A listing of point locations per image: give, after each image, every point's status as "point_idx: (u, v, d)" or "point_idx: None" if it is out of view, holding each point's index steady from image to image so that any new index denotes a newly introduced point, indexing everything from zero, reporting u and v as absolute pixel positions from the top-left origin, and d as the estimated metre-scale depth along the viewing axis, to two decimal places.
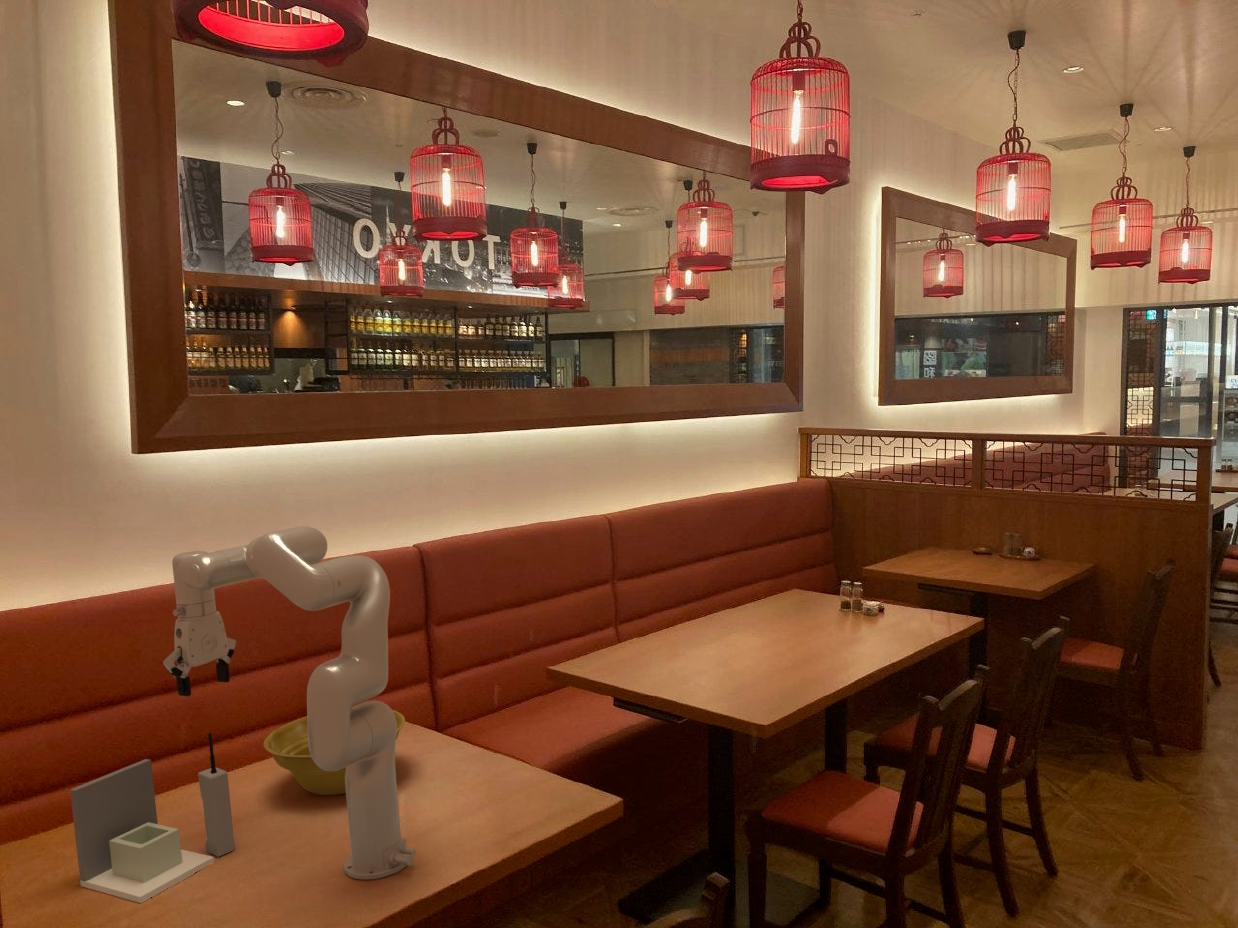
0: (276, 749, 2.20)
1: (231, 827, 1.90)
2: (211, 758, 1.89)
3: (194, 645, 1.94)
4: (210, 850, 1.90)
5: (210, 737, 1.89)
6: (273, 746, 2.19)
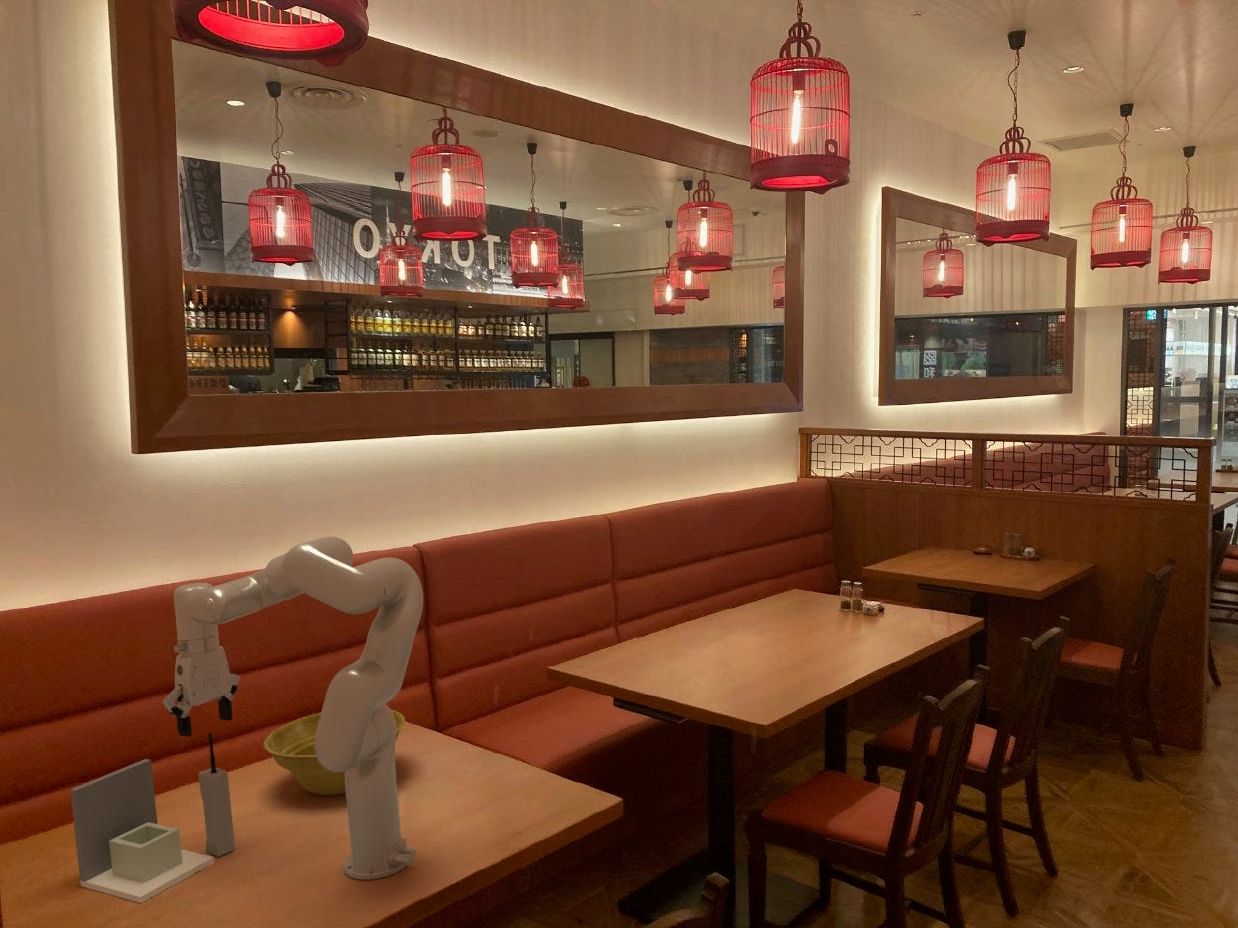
0: (276, 749, 2.20)
1: (231, 827, 1.90)
2: (211, 758, 1.89)
3: (196, 683, 1.84)
4: (210, 850, 1.90)
5: (210, 737, 1.89)
6: (273, 746, 2.20)
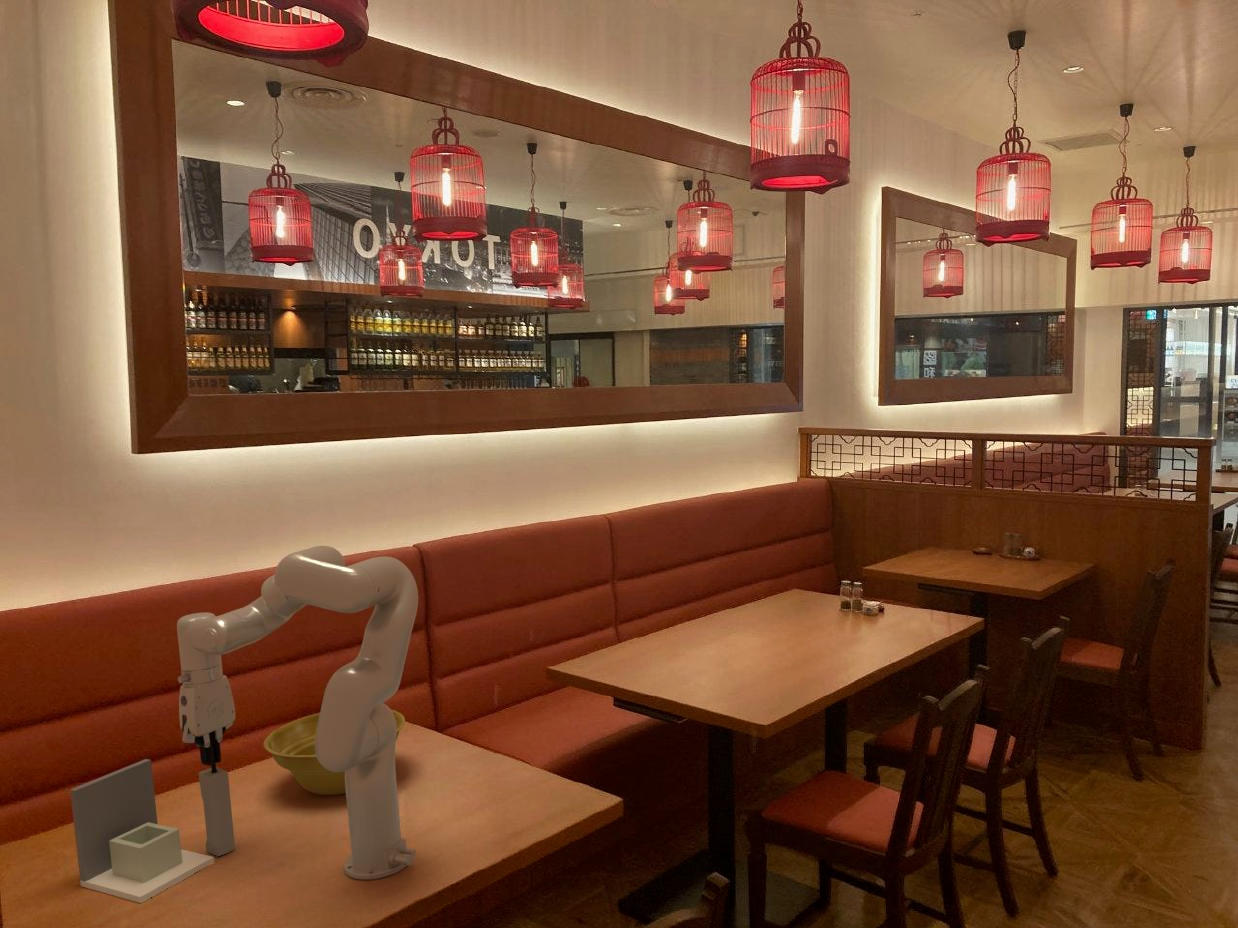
0: (276, 749, 2.20)
1: (231, 827, 1.90)
2: None
3: (200, 714, 1.85)
4: (210, 849, 1.90)
5: (211, 737, 1.89)
6: (273, 746, 2.20)
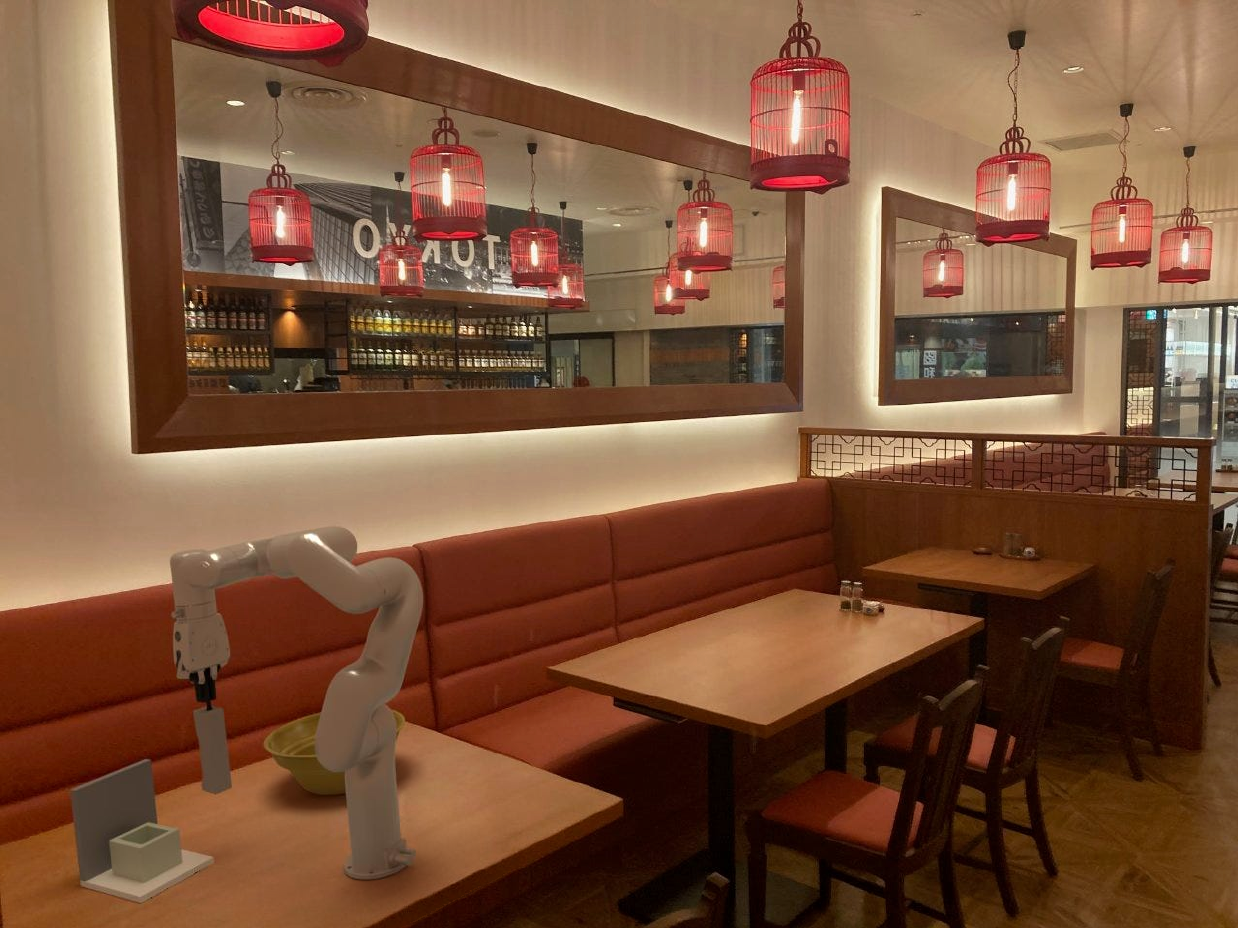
0: (276, 749, 2.20)
1: (228, 764, 1.89)
2: None
3: (194, 649, 1.84)
4: (207, 788, 1.89)
5: (205, 674, 1.88)
6: (273, 746, 2.20)
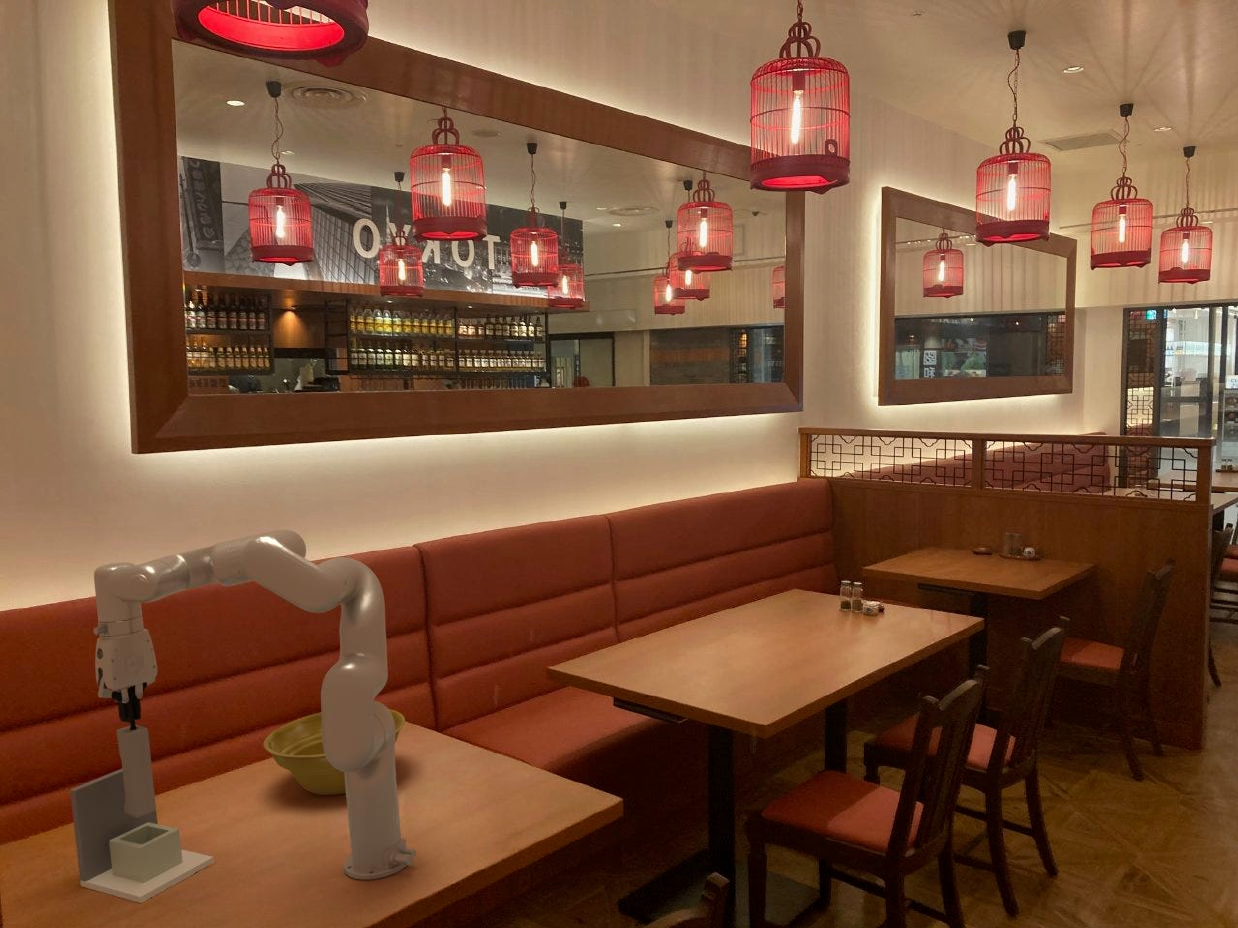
0: (276, 749, 2.20)
1: (151, 787, 1.82)
2: None
3: (117, 667, 1.76)
4: (129, 810, 1.81)
5: (130, 692, 1.80)
6: (273, 746, 2.20)
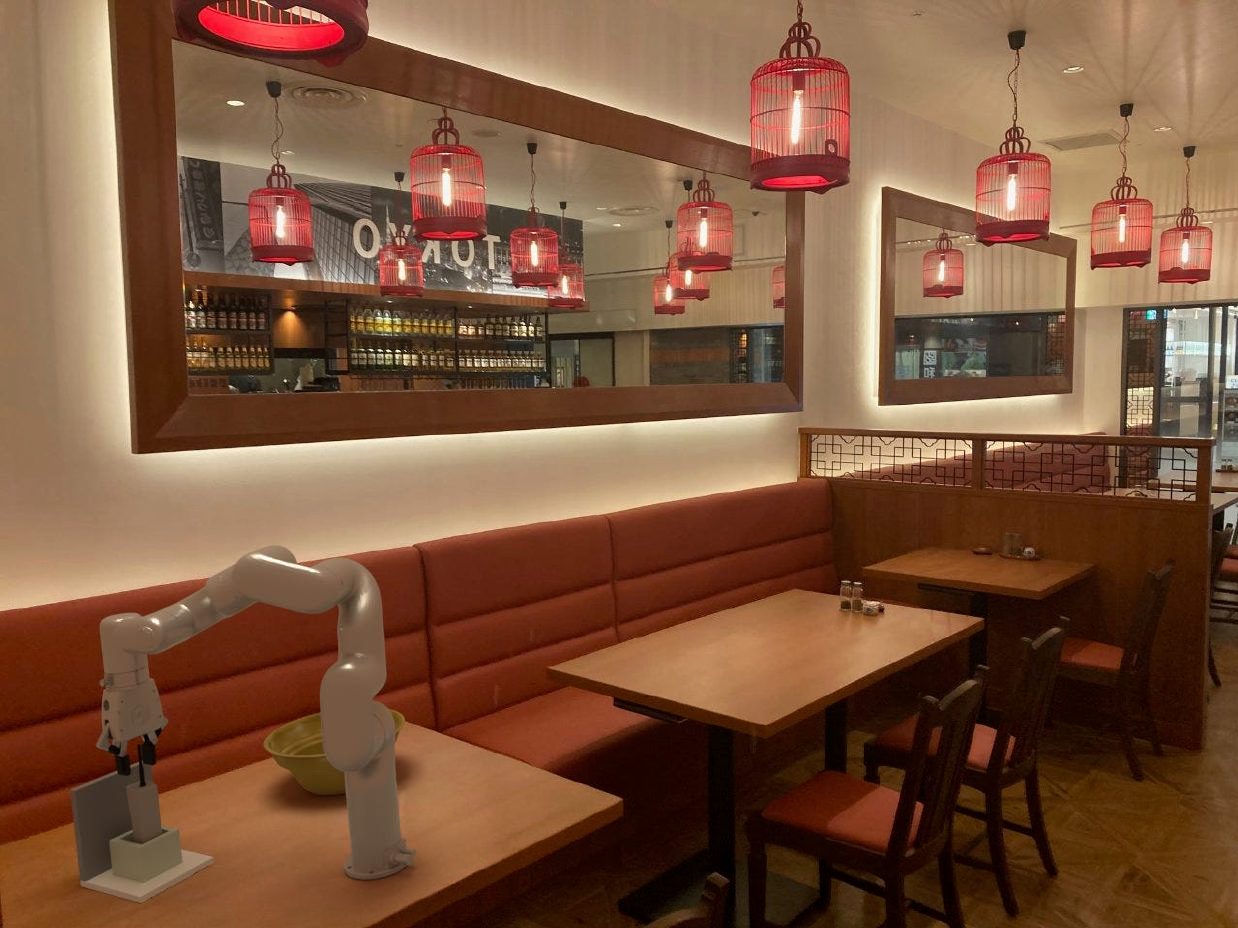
0: (276, 749, 2.20)
1: None
2: (140, 771, 1.81)
3: (123, 719, 1.77)
4: None
5: (139, 749, 1.81)
6: (273, 746, 2.19)
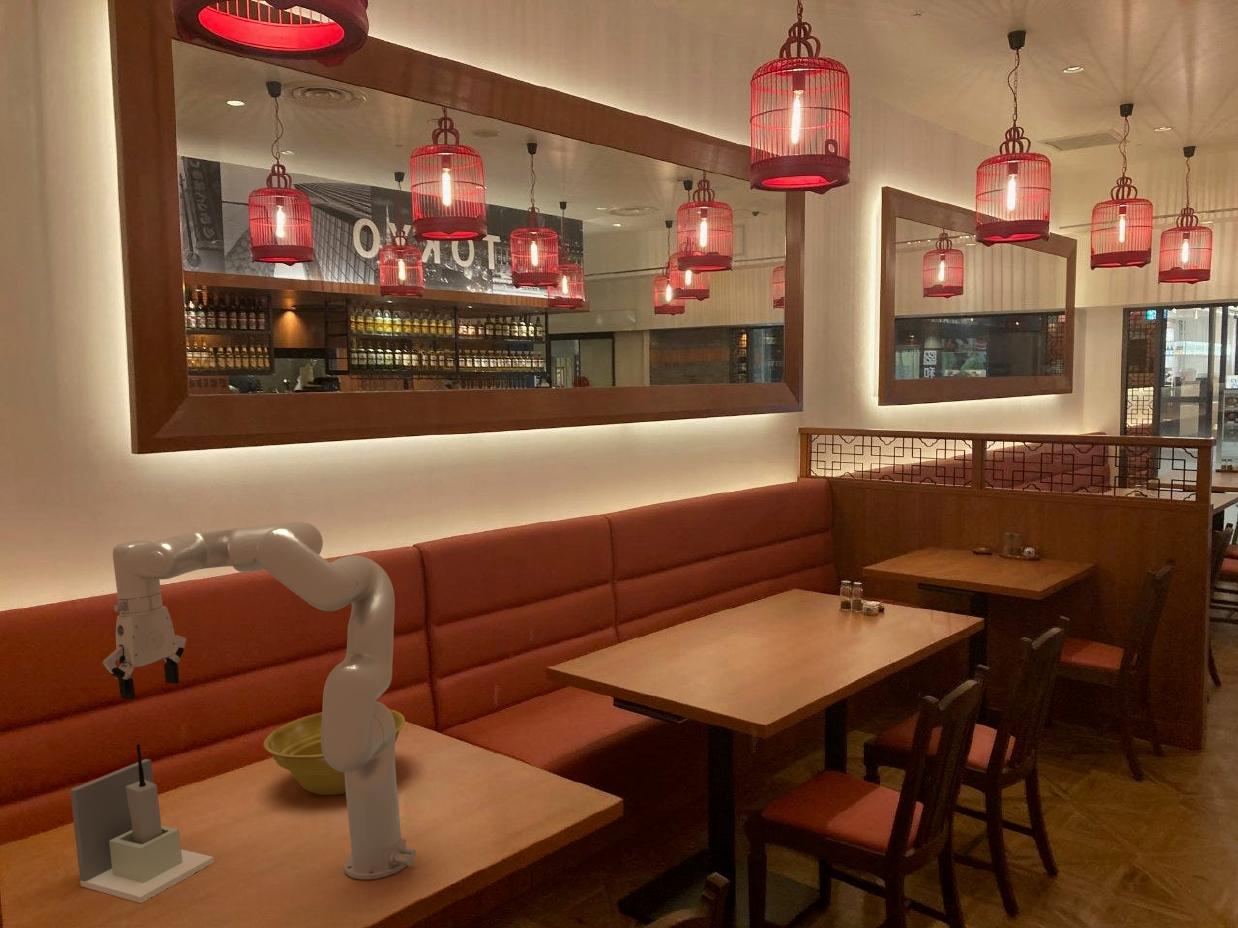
0: (276, 749, 2.20)
1: None
2: (139, 771, 1.81)
3: (138, 644, 1.78)
4: None
5: (138, 749, 1.81)
6: (273, 746, 2.20)
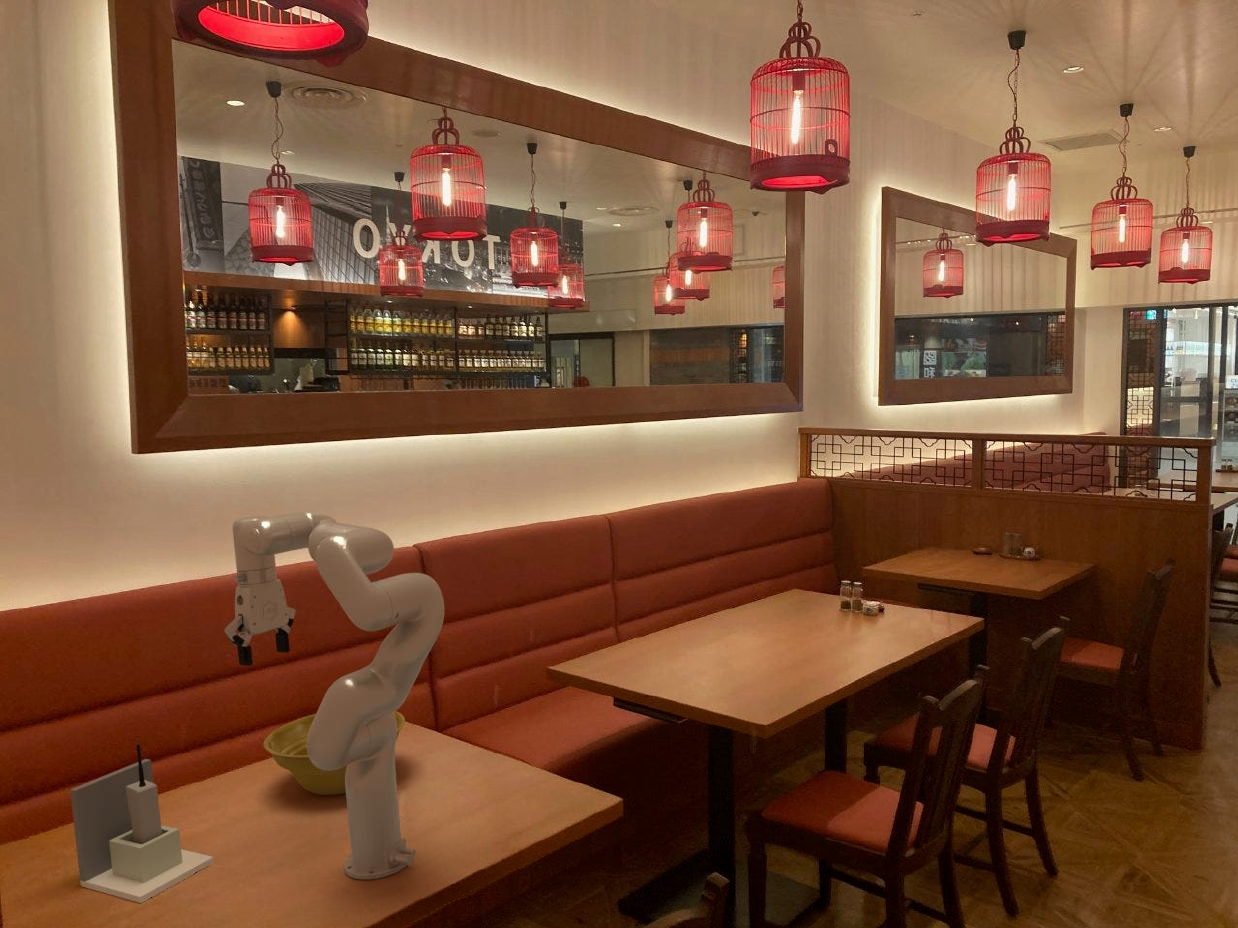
0: (276, 749, 2.20)
1: None
2: (139, 771, 1.81)
3: (256, 613, 1.88)
4: None
5: (138, 749, 1.81)
6: (273, 746, 2.19)
